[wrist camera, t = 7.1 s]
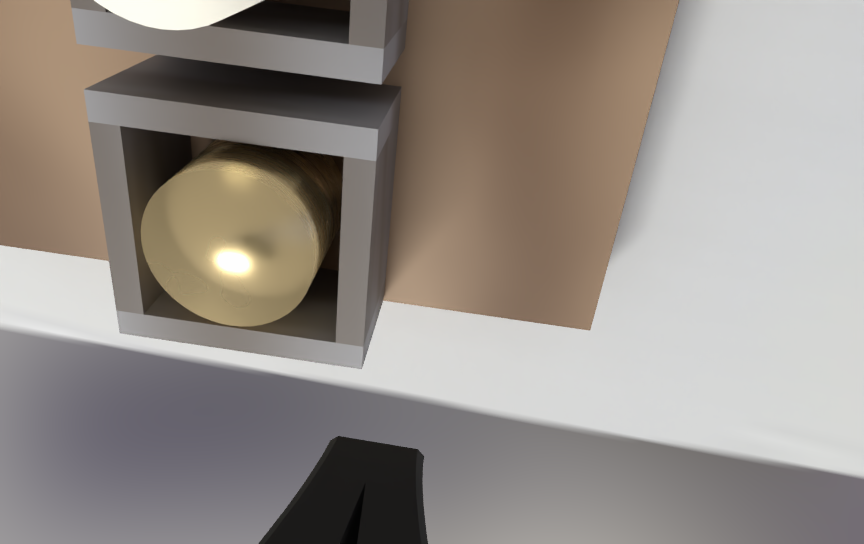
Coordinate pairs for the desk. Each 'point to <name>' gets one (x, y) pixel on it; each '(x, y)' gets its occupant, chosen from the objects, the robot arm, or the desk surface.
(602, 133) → the knob panel
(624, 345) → the desk surface
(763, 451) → the desk surface
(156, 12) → the knob middle
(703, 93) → the desk surface
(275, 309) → the knob
